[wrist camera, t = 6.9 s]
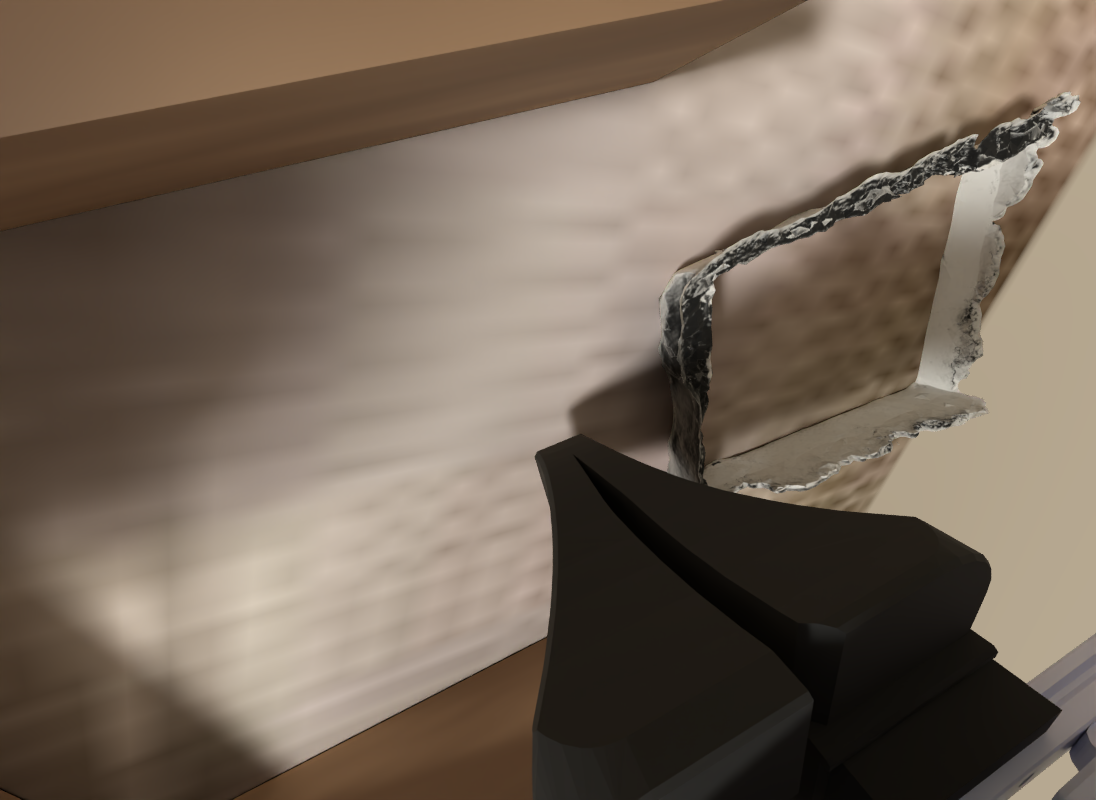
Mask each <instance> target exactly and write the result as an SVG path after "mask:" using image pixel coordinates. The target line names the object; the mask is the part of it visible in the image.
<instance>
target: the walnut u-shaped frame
mask: <svg viewBox="0 0 1096 800" xmlns="http://www.w3.org/2000/svg"><path fill="white" fill-rule="evenodd" d="M805 1H807V0H0V231H3V230H8V229H12V228H17V227H21V226H25V225H30V224H34V223H38V222H43V221H47V220H51V219H56V218H60V217H65V216H69V215H73V214H78V213H82V212H86V211H91V210H95V209H100V208H104V207H108V206H113V205H117V204H121V203H126V202H130V201H135V200H139V199H143V198H148V197H152V196H156V195H161V194H165V193H169V192H174V191H178V190H183V189H187V188H191V187H196V186H200V185H204V184H209V183H213V182H218V181H222V180H226V179H231V178H235V177H239V176H244V175H248V174H252V173H257V172H261V171H266V170H270V169H274V168H279V167H283V166H287V165H292V164H296V163H301V162H305V161H309V160H314V159H318V158H322V157H327V156H331V155H335V154H340V153H344V152H349V151H353V150H357V149H362V148H366V147H370V146H375V145H379V144H384V143H388V142H392V141H397V140H401V139H405V138H410V137H414V136H418V135H423V134H427V133H432V132H436V131H440V130H445V129H449V128H453V127H458V126H462V125H467V124H471V123H475V122H480V121H484V120H488V119H493V118H497V117H501V116H506V115H510V114H515V113H519V112H523V111H528V110H532V109H536V108H541V107H545V106H550V105H554V104H558V103H563V102H567V101H571V100H576V99H580V98H584V97H589V96H593V95H598V94H602V93H606V92H611V91H615V90H619V89H624V88H628V87H633V86H637V85H641V84H646V83H650V82H654V81H656V80H657V79H659V78H661V77H663V76H665V75H667V74H669V73H671V72H673V71H674V70H676V69H678V68H680V67H682V66H684V65H686V64H688V63H690V62H691V61H693V60H695V59H697V58H699V57H701V56H703V55H705V54H707V53H708V52H710V51H712V50H714V49H716V48H718V47H720V46H722V45H724V44H725V43H727V42H729V41H731V40H733V39H735V38H737V37H739V36H741V35H742V34H744V33H746V32H748V31H750V30H752V29H754V28H756V27H758V26H759V25H761V24H763V23H765V22H767V21H769V20H771V19H773V18H775V17H776V16H778V15H780V14H782V13H784V12H786V11H788V10H790V9H792V8H793V7H795V6H797V5H799V4H801V3H803V2H805ZM546 643H547V638H545V639H543V640H541V641H539V642H537V643H535V644H533V645H531V646H530V647H528V648H526V649H524V650H522V651H520V652H518V653H516V654H514V655H512V656H510V657H508V658H506V659H504V660H502V661H500V662H499V663H497V664H495V665H493V666H491V667H489V668H487V669H485V670H483V671H481V672H479V673H477V674H475V675H473V676H471V677H469V678H467V679H466V680H464V681H462V682H460V683H458V684H456V685H454V686H452V687H450V688H448V689H446V690H444V691H442V692H440V693H438V694H436V695H435V696H433V697H431V698H429V699H427V700H425V701H423V702H421V703H419V704H417V705H415V706H413V707H411V708H409V709H407V710H405V711H403V712H402V713H400V714H398V715H396V716H394V717H392V718H390V719H388V720H386V721H384V722H382V723H380V724H378V725H376V726H374V727H372V728H371V729H369V730H367V731H365V732H363V733H361V734H359V735H357V736H355V737H353V738H351V739H349V740H347V741H345V742H343V743H341V744H340V745H338V746H336V747H334V748H332V749H330V750H328V751H326V752H324V753H322V754H320V755H318V756H316V757H314V758H312V759H310V760H308V761H307V762H305V763H303V764H301V765H299V766H297V767H295V768H293V769H291V770H289V771H287V772H285V773H283V774H281V775H279V776H277V777H276V778H274V779H272V780H270V781H268V782H266V783H264V784H262V785H260V786H258V787H256V788H254V789H252V790H250V791H248V792H246V793H244V794H243V795H241V796H239V797H237V798H235V799H233V800H533V795H532V725H533V719H534V714H535V708H536V703H537V698H538V692H539V687H540V682H541V676H542V671H543V665H544V658H545V651H546ZM0 800H21V799H19V798H17V797H15V796H13V795H11V794H8V793H6V792H4V791H2V790H0Z"/></svg>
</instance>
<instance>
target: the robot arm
mask: <svg viewBox="0 0 1096 800" xmlns="http://www.w3.org/2000/svg"><path fill="white" fill-rule="evenodd" d="M535 460H536V463H537V466H538V469H539V473H540V476H541V479H542V483H543V486H544V489H545V492H546V496H547V499H548V502H549V506H550V511H551V523H552V538H553V576H552V596H551V609H550V618H549V626H548V635H547V643H546V651H545V658H544V665H543V671H542V676H541V682H540V687H539V692H538V698H537V703H536V708H535V714H534V719H533V725H532V795H533V800H1008V799H1009V798H1010V797H1011V796H1013V795H1014V794H1015V793H1016V792H1018V791H1019V790H1020V789H1021V788H1023V787H1024V786H1025V785H1026V784H1028V783H1029V782H1030V781H1031V780H1032V779H1034V778H1035V777H1036V776H1038V775H1039V774H1040V773H1041V772H1043V771H1044V770H1045V769H1046V768H1047V767H1049V766H1050V765H1051V764H1052V763H1054V762H1055V761H1056V760H1057V759H1059V758H1060V757H1061V756H1062V755H1063V754H1065V753H1066V752H1067V751H1069V750H1070V749H1071V750H1070V752H1069V753H1070V757H1071V760H1072V762H1073V763H1074V765H1075V766H1076V768H1077V769H1078V771H1079V772H1078V774H1076V775H1075V776H1074V777H1073V778H1072V779H1071V780H1070V781H1068V782H1067V783H1066V784H1065V785H1064V786H1063V787H1062V788H1061V789H1060V790H1059V791H1058V792H1057V793H1056V794H1055V796H1054V797H1053V798H1052V800H1096V633H1095V634H1094V635H1093V636H1091V637H1090V638H1088V639H1087V640H1086V641H1084V642H1083V643H1082V644H1080V645H1079V646H1077V647H1076V648H1075V649H1073V650H1072V651H1071V652H1069V653H1068V654H1066V655H1065V656H1064V657H1062V658H1061V659H1060V660H1058V661H1057V662H1056V663H1054V664H1053V665H1051V666H1050V667H1049V668H1047V669H1046V670H1045V671H1043V672H1042V673H1040V674H1039V675H1038V676H1036V677H1035V678H1034V679H1032V680H1031V681H1029V682H1028V683H1027V684H1026V683H1025V682H1023V681H1022V680H1021V679H1019V678H1018V677H1016V676H1015V675H1013V674H1012V673H1011V672H1009V671H1008V670H1007V669H1005V668H1004V667H1003V666H1001V665H1000V664H999V663H997V662H996V661H994V660H993V658H995V657H996V655H997V653H998V651H997V649H996V648H995V647H994V645H992V644H991V643H990V642H988V641H987V640H985V639H984V638H982V637H981V636H980V635H978V634H977V633H975V632H974V631H973V630H971V629H970V628H971V626H972V624H973V622H974V620H975V617H976V615H977V613H978V611H979V608H980V606H981V604H982V602H983V600H984V597H985V595H986V593H987V590H988V587H989V584H990V581H991V567H990V564H989V562H988V560H987V559H986V558H985V556H984V555H983V554H981V553H979V552H977V551H976V550H974V549H972V548H970V547H968V546H967V545H965V544H963V543H961V542H960V541H958V540H956V539H954V538H952V537H951V536H949V535H947V534H945V533H944V532H942V531H940V530H938V529H936V528H935V527H933V526H931V525H929V524H928V523H926V522H924V521H922V520H920V519H918V518H916V517H909V516H896V515H885V514H872V513H860V512H847V511H838V510H830V509H823V508H815V507H808V506H801V505H794V504H788V503H782V502H776V501H771V500H766V499H761V498H756V497H752V496H747V495H742V494H738V493H733V492H729V491H725V490H721V489H718V488H714V487H711V486H707V485H704V484H700V483H697V482H693V481H690V480H687V479H684V478H681V477H678V476H675V475H673V474H670V473H667V472H664V471H662V470H659V469H656V468H654V467H651V466H649V465H646V464H644V463H641V462H639V461H637V460H635V459H632V458H630V457H628V456H625V455H623V454H621V453H619V452H617V451H615V450H613V449H611V448H608V447H606V446H604V445H602V444H600V443H598V442H596V441H594V440H592V439H590V438H588V437H586V436H584V435H582V434H579V435H577V436H574V437H572V438H569V439H567V440H564V441H562V442H559V443H557V444H555V445H552V446H550V447H547V448H545V449H542V450H540V451H538V452H537V453H536V455H535Z"/></svg>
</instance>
